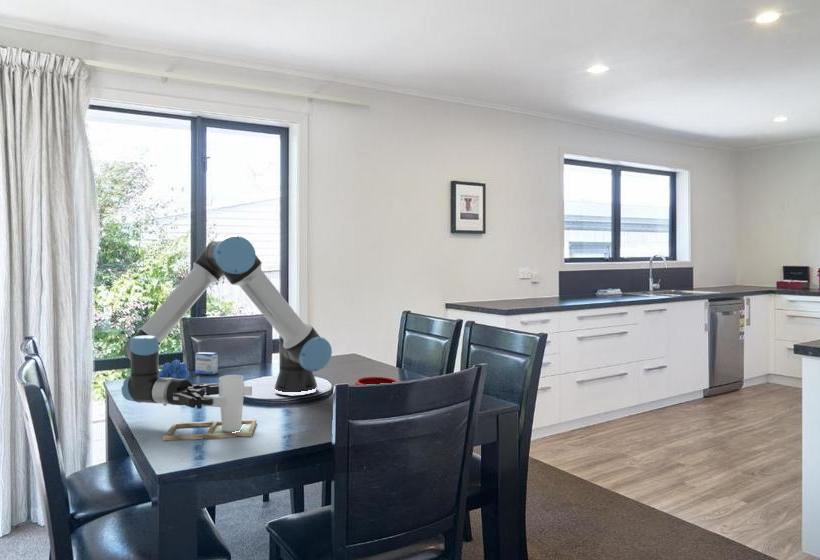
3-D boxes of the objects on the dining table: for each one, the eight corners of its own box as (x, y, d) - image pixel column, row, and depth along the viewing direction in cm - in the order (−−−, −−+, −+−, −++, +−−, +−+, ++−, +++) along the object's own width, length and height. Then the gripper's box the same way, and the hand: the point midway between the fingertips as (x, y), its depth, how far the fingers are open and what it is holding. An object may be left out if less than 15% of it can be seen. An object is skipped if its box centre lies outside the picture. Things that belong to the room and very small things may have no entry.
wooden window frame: (256, 422, 168) (256, 419, 168) (251, 436, 156) (251, 432, 156) (174, 426, 164) (174, 423, 164) (162, 440, 152) (162, 437, 152)
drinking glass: (249, 427, 163) (248, 375, 162) (234, 434, 156) (234, 380, 156) (229, 425, 165) (228, 373, 164) (213, 432, 159) (213, 378, 158)
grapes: (186, 388, 212) (186, 356, 211) (191, 392, 206) (191, 359, 206) (152, 393, 205) (152, 359, 204) (156, 396, 199) (156, 362, 199)
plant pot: (363, 428, 163) (363, 386, 163) (349, 416, 175) (349, 377, 175) (405, 423, 169) (405, 382, 168) (389, 411, 181) (389, 374, 180)
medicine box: (195, 374, 238) (194, 353, 238) (200, 371, 243) (200, 351, 242) (212, 374, 237) (212, 353, 237) (218, 372, 242) (217, 352, 241)
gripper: (199, 394, 178) (261, 398, 172) (143, 415, 153) (212, 421, 148) (199, 370, 177) (261, 374, 172) (142, 388, 153) (211, 393, 148)
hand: (238, 396), depth 160 cm, fingers open, 13 cm apart
